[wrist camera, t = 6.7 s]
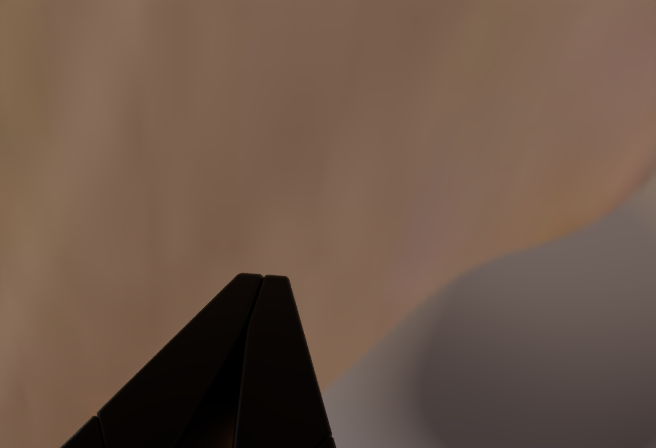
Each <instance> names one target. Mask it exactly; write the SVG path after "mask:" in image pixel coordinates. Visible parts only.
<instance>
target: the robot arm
mask: <svg viewBox="0 0 656 448" xmlns="http://www.w3.org/2000/svg"><path fill="white" fill-rule="evenodd" d="M97 417H98V418H97ZM60 448H336V445H335V442H334V439H333V437H332V432H331V428H330V425H329V421H328V418H327V414H326V411H325V407H324V403H323V399H322V396H321V392H320V389H319V385H318V381H317V378H316V374H315V371H314V367H313V363H312V360H311V356H310V353H309V349H308V346H307V342H306V338H305V335H304V331H303V328H302V324H301V320H300V317H299V313H298V310H297V306H296V302H295V299H294V295H293V292H292V288H291V284H290V281H289V278H288V277H286V276H278V275H266V276H265V277H263V276H262V275H261V274H251V273H240V274H238V275H237V276H236V277H235V278H234V279H233V280H232V281H231V282H230V283H229V284H228V285H227V286H226V287H225V288H223V289H222V290H221V291H220V292H219V293H218V294H217V295H216V296H215V297H214V298H213V299H212V300H211V301H210V302H209V303H208V304H207V305H206V306H205V307H204V308H203V309H202V310H201V311H200V312H199V313H198V314H197V315H196V316H195V317H194V318H193V319H192V320H191V321H190V322H189V323H188V324H187V325H186V326H185V327H184V328H183V329H182V330H181V331H180V332H179V333H178V334H177V335H176V336H175V337H173V338H172V339H171V340H170V341H169V342H168V343H167V344H166V345H165V346H164V347H163V348H162V349H161V350H160V351H159V352H158V353H157V354H156V355H155V356H154V357H153V358H152V359H151V360H150V361H149V362H148V363H147V364H146V365H145V366H144V367H143V368H142V369H141V370H140V371H139V372H138V373H137V374H136V375H135V376H134V377H133V378H132V379H131V380H130V381H129V382H128V383H127V384H126V385H125V386H124V387H122V388H121V389H120V390H119V391H118V392H117V393H116V394H115V395H114V396H113V397H112V398H111V399H110V400H109V401H108V402H107V403H106V404H105V405H104V406H103V407H102V408H101V409H100V410H99V411H98V412H97V416H93V417H92V418H91V419H90V420H89V421H88V422H86V423H85V424H84V425H83V426H82V427H81V428H80V429H79V430H78V431H77V432H76V433H75V434H74V435H73V436H72V437H71V438H70V439H69V440H68V441H67V442H66V443H65V444H64V445H62V446H61V447H60Z"/></svg>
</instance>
